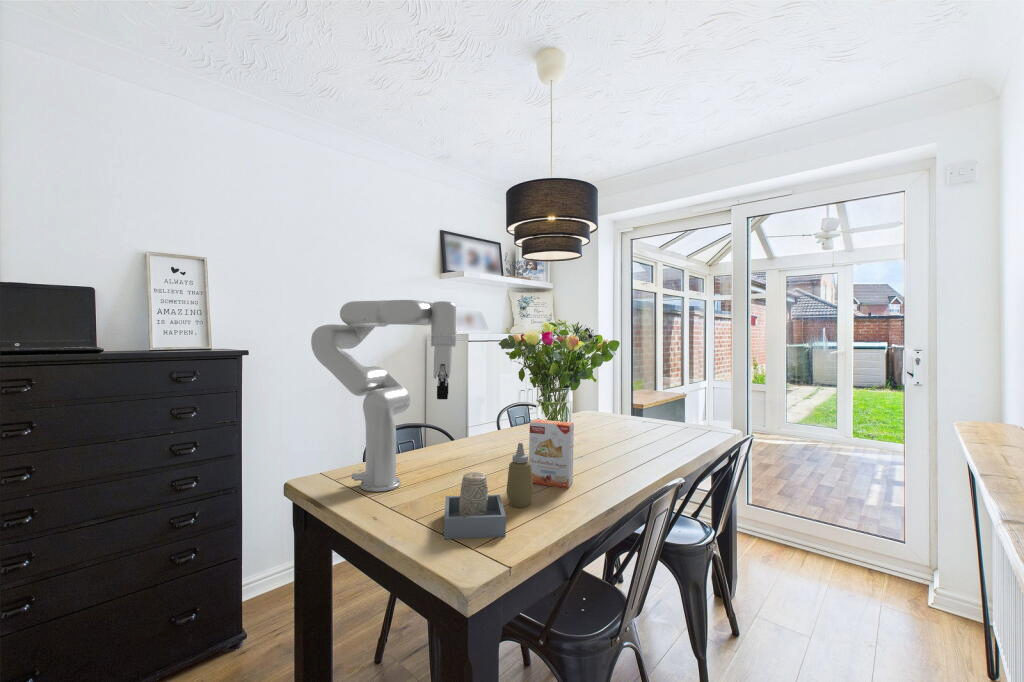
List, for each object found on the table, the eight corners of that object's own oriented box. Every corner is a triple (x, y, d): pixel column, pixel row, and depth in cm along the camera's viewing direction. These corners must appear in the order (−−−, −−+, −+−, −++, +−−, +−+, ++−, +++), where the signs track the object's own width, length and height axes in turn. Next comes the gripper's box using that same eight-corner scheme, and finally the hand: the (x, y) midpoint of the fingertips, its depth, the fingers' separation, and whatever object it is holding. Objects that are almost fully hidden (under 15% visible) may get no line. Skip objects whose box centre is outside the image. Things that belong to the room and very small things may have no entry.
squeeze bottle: (524, 511, 125) (525, 448, 124) (500, 505, 129) (501, 444, 129) (538, 502, 131) (539, 442, 131) (515, 497, 136) (515, 438, 136)
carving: (484, 526, 112) (484, 479, 112) (455, 524, 113) (456, 477, 113) (490, 516, 118) (490, 472, 118) (463, 514, 120) (463, 470, 120)
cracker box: (528, 483, 149) (528, 421, 148) (533, 478, 154) (534, 418, 154) (568, 489, 143) (569, 425, 143) (573, 483, 149) (574, 421, 149)
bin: (444, 539, 107) (444, 518, 107) (445, 514, 122) (445, 496, 122) (505, 536, 109) (505, 516, 109) (499, 512, 124) (499, 494, 124)
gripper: (432, 341, 145) (431, 393, 145) (429, 342, 128) (428, 401, 128) (455, 341, 146) (455, 393, 146) (455, 342, 129) (455, 401, 129)
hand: (442, 396), depth 137 cm, fingers open, 9 cm apart
